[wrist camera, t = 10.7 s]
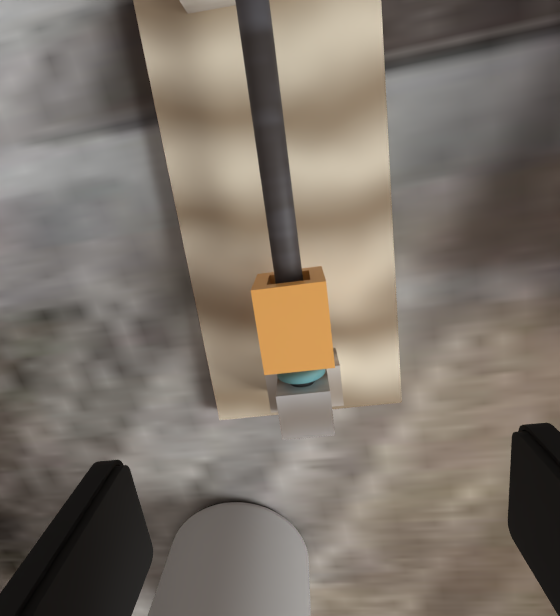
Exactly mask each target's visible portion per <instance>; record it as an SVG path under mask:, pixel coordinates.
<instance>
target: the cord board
mask: <svg viewBox="0 0 560 616" xmlns="http://www.w3.org/2000/svg"><path fill="white" fill-rule="evenodd" d="M133 2H134V7H135V12H136V17H137V21H138V26H139V31H140V36H141V41H142V46H143V51H144V55H145V60H146V65H147V70H148V75H149V80H150V85H151V89H152V94H153V99H154V104H155V109H156V114H157V119H158V123H159V128H160V133H161V138H162V143H163V148H164V153H165V157H166V162H167V167H168V172H169V177H170V182H171V187H172V191H173V196H174V201H175V206H176V211H177V216H178V221H179V225H180V230H181V235H182V240H183V245H184V250H185V255H186V259H187V264H188V269H189V274H190V279H191V284H192V288H193V293H194V298H195V303H196V308H197V313H198V318H199V322H200V327H201V332H202V337H203V342H204V347H205V352H206V356H207V361H208V366H209V371H210V376H211V381H212V386H213V390H214V395H215V400H216V405H217V410H218V415H219V420H227V419H237V418H247V417H258V416H268V415H279V421H280V428H281V434H282V440H290V439H300V438H311V437H322V436H333V435H335V430H334V421H333V412H332V409H339V408H350V407H360V406H370V405H380V404H391V403H401V402H402V399H401V379H400V359H399V340H398V320H397V301H396V281H395V262H394V242H393V223H392V203H391V184H390V164H389V144H388V125H387V105H386V86H385V66H384V47H383V27H382V8H381V0H133ZM318 266H322V270H323V273H324V276H325V279H326V285H327V294H328V304H329V314H330V323H331V333H332V343H333V352H334V362H335V368H329V369H320V370H310V371H301V372H291V373H282V374H272V375H264V370H263V364H262V358H261V352H260V345H259V339H258V333H257V327H256V321H255V315H254V308H253V302H252V296H251V288H252V286H253V284H254V281H255V279H256V276H257V274H262V273H270V272H274V276H275V283H276V284H278V283H287V282H295V281H303V275H302V268H310V267H318Z"/></svg>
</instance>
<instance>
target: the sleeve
mask: <svg viewBox="0 0 560 616" xmlns="http://www.w3.org/2000/svg"><path fill="white" fill-rule="evenodd" d="M302 275H303V281H295V282H287V283H278V284H276V283H275V276H274V272H270V273H262V274H257V276H256V279H255V281H254V284H253V286H252V288H251V296H252V302H253V308H254V315H255V321H256V327H257V333H258V339H259V345H260V352H261V358H262V364H263V370H264V375H272V374H282V373H291V372H301V371H310V370H320V369H329V368H335V362H334V352H333V343H332V333H331V323H330V314H329V304H328V294H327V285H326V279H325V276H324V273H323V270H322V266H318V267H310V268H302Z"/></svg>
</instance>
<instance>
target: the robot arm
mask: <svg viewBox="0 0 560 616" xmlns="http://www.w3.org/2000/svg"><path fill="white" fill-rule="evenodd" d="M508 527H509V531H510V534H511V536H512V539H513V540H514V542H515V544H516V546H517V547H518V549H519V551H520V552H521V554H522V556H523V557H524V559H525V561H526V562H527V564H528V566H529V567H530V569H531V571H532V572H533V574H534V576H535V577H536V579H537V581H538V582H539V584H540V586H541V587H542V589H543V591H544V592H545V594H546V596H547V597H548V599H549V601H550V602H551V604H552V606H553V607H554V609H555V611H556V612H557V614H558V615H559V616H560V432H559V431H558V430H557V429H556V428H555V427H554V426H553V425H551V424H550V423H539V424H527V425H522V426H520V428H519V431H518V432H514V433H513V435H512V446H511V466H510V487H509V508H508ZM152 557H153V547H152V543H151V539H150V536H149V533H148V529H147V526H146V522H145V519H144V516H143V512H142V509H141V505H140V502H139V499H138V495H137V492H136V488H135V485H134V482H133V478H132V475H131V472H130V469H129V467H128V466H126V465H123V463H122V462H121V461H120V460H111V461H100V462H96V463H94V464H93V465H92V467H91V468H90V469H89V471H88V472H87V473H86V475H85V476H84V478H83V479H82V480H81V482H80V483H79V485H78V486H77V487H76V489H75V490H74V492H73V493H72V494H71V496H70V497H69V499H68V500H67V501H66V503H65V504H64V505H63V507H62V508H61V510H60V511H59V512H58V514H57V515H56V517H55V518H54V519H53V521H52V522H51V524H50V525H49V526H48V528H47V529H46V531H45V532H44V533H43V535H42V536H41V537H40V539H39V540H38V542H37V543H36V544H35V546H34V547H33V549H32V550H31V551H30V553H29V554H28V556H27V557H26V558H25V560H24V561H23V563H22V564H21V565H20V567H19V568H18V569H17V571H16V572H15V574H14V575H13V576H12V578H11V579H10V581H9V582H8V583H7V585H6V586H5V588H4V589H3V590H2V592H1V593H0V616H131V615H132V612H133V610H134V607H135V604H136V602H137V599H138V597H139V594H140V591H141V589H142V586H143V583H144V581H145V578H146V576H147V573H148V570H149V568H150V565H151V562H152Z"/></svg>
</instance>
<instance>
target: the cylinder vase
mask: <svg viewBox="0 0 560 616" xmlns="http://www.w3.org/2000/svg"><path fill="white" fill-rule="evenodd" d="M148 616H311V612H310V584H309V558H308V552H307V548H306V545H305V543H304V540H303V539H302V537H301V535H300V533H299V532H298V531H297V529H296V528H295V527H294V526H293V525H292V524H291V523H290V522H289V521H288V520H287V519H285V518H284V517H283V516H281V515H280V514H278V513H276V512H274V511H272V510H270V509H268V508H265V507H263V506H259V505H256V504H251V503H243V502H229V503H222V504H217V505H213V506H210V507H207V508H205V509H203V510H201V511H199V512H197V513H196V514H194V515H193V516H191V517H190V518H189V519H188V520H187V521H186V522H185V523H184V524H183V525H182V526H181V528H180V529H179V530H178V532H177V534H176V536H175V538H174V540H173V543H172V546H171V549H170V552H169V555H168V558H167V561H166V564H165V566H164V569H163V572H162V575H161V578H160V581H159V584H158V587H157V590H156V593H155V596H154V599H153V602H152V605H151V607H150V610H149V613H148Z"/></svg>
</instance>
